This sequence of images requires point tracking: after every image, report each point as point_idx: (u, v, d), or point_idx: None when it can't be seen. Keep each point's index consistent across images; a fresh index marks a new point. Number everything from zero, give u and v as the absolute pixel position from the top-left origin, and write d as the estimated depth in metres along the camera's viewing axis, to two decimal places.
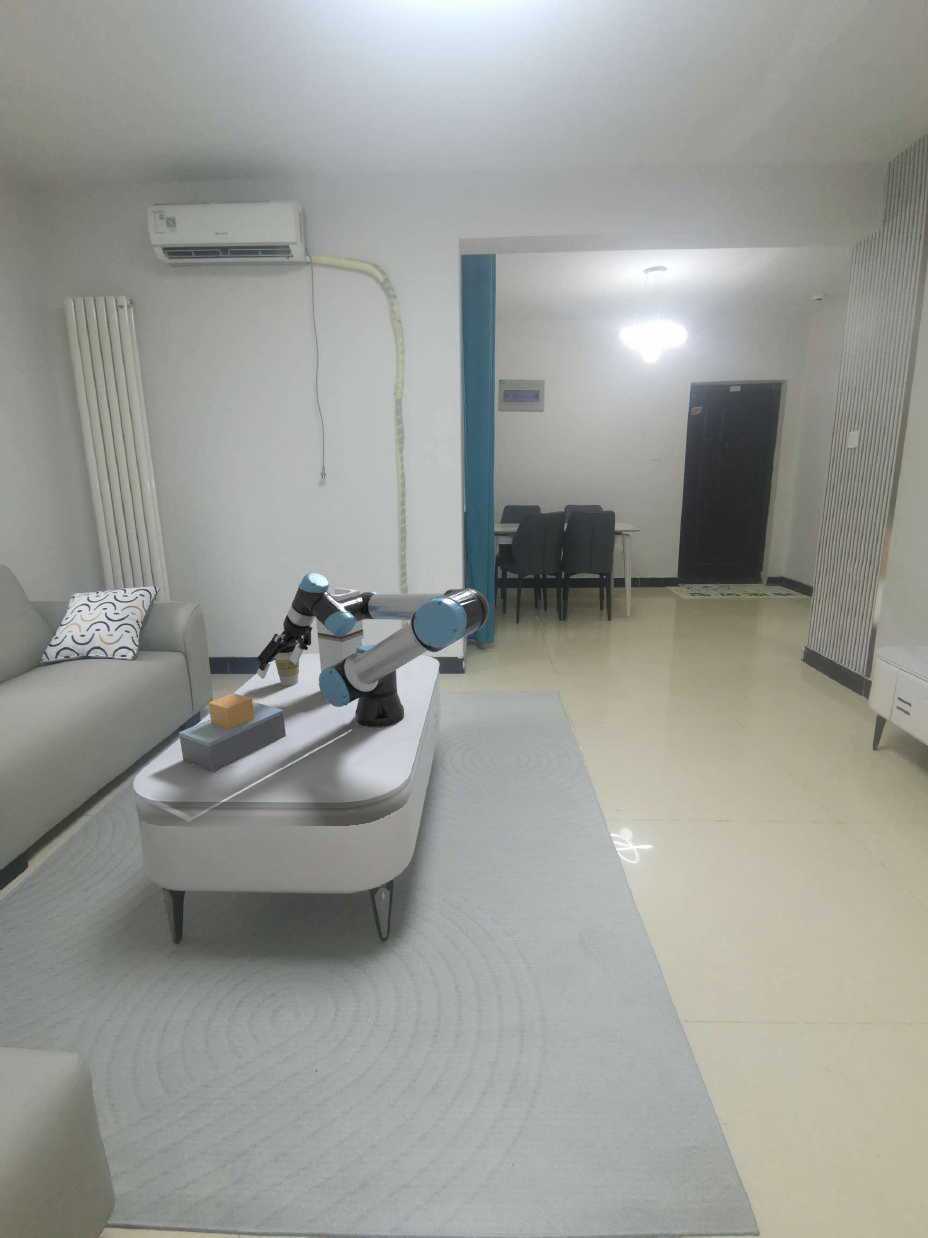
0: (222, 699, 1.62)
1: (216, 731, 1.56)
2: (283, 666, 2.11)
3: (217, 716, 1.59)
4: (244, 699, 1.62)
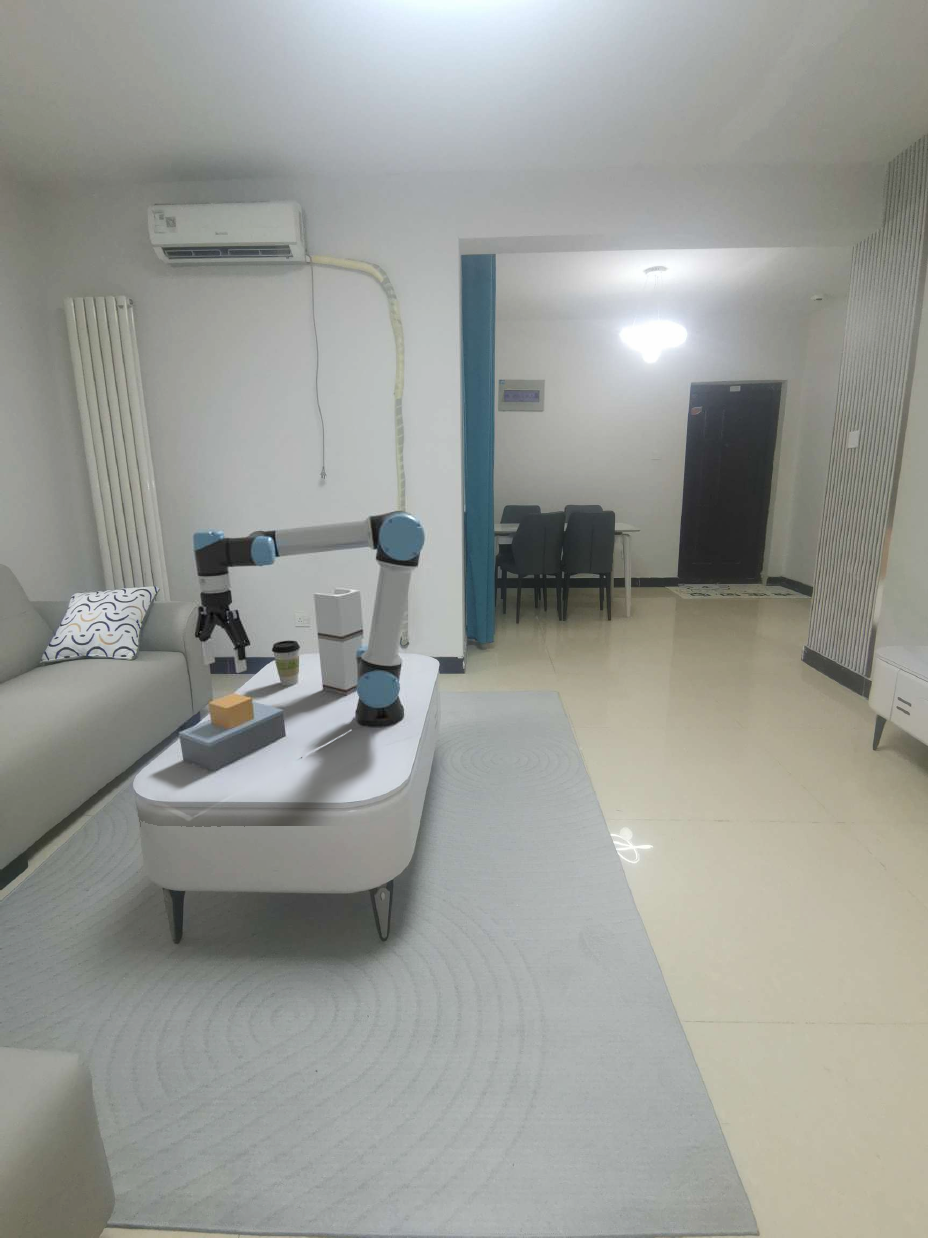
0: (222, 699, 1.62)
1: (216, 731, 1.56)
2: (283, 666, 2.11)
3: (217, 716, 1.59)
4: (244, 699, 1.62)
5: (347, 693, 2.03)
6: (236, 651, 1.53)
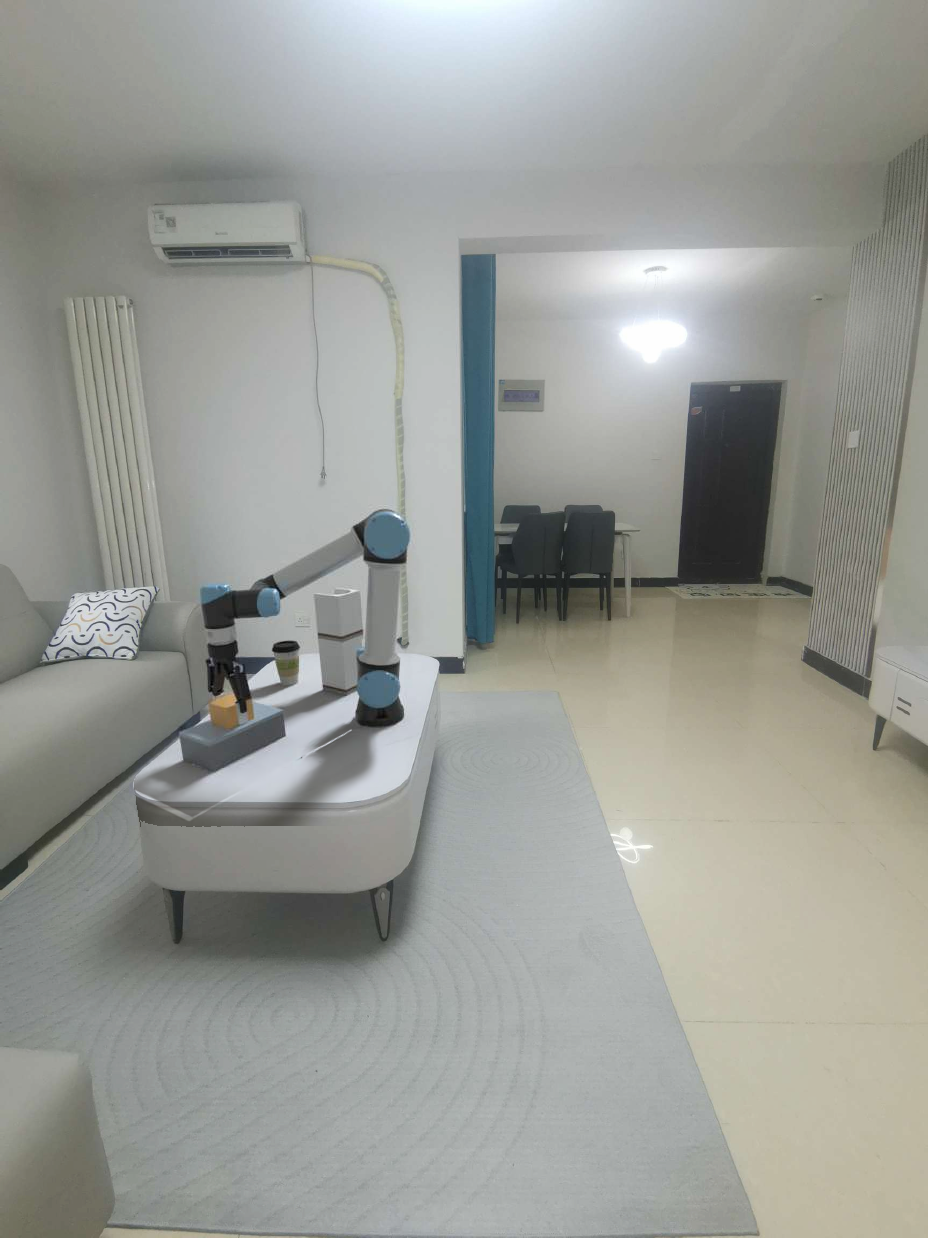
0: (222, 699, 1.62)
1: (216, 731, 1.56)
2: (283, 666, 2.11)
3: (217, 716, 1.59)
4: None
5: (347, 693, 2.03)
6: (238, 704, 1.58)
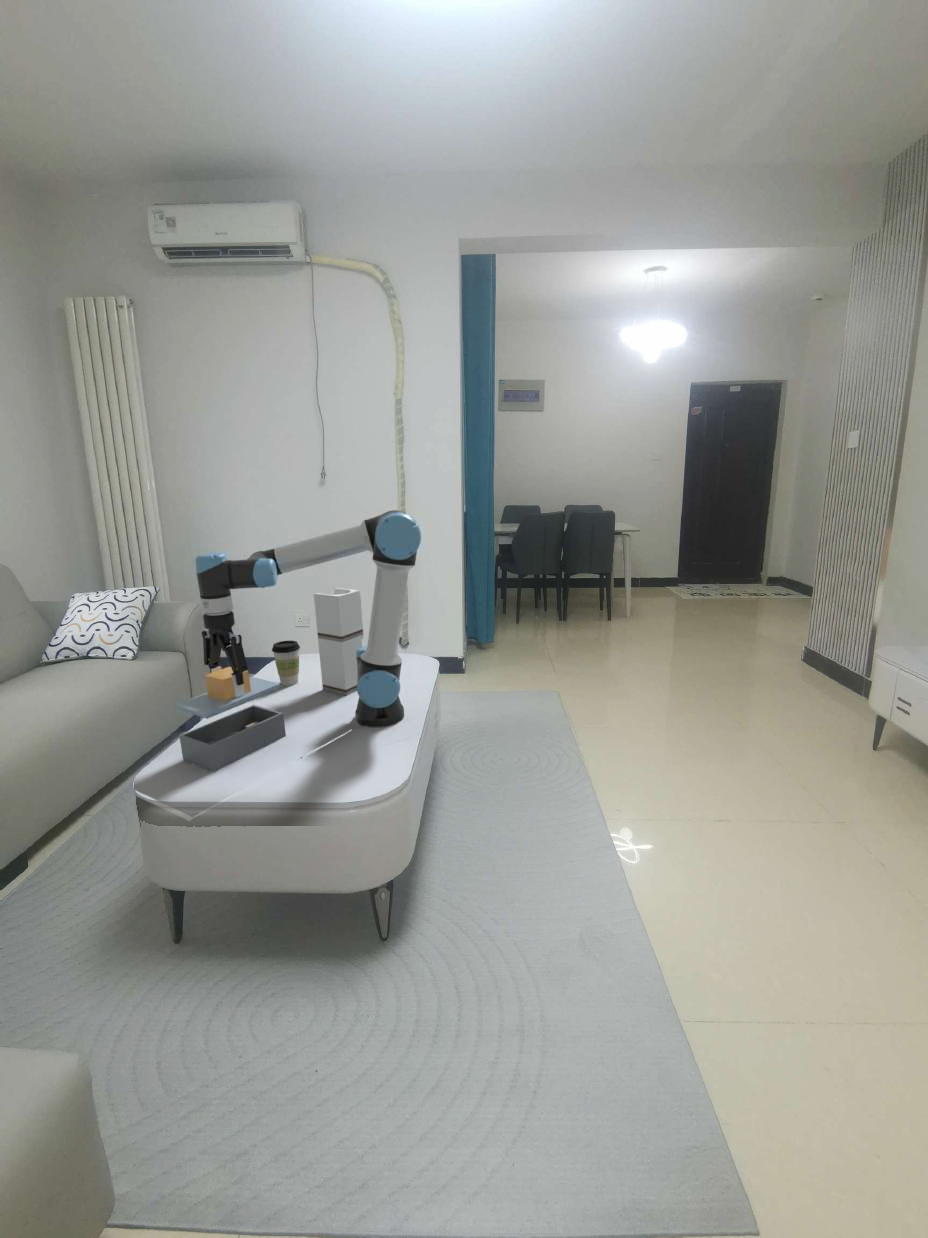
0: (218, 671, 1.60)
1: (212, 703, 1.54)
2: (283, 666, 2.11)
3: (213, 688, 1.57)
4: None
5: (347, 693, 2.03)
6: (234, 676, 1.56)
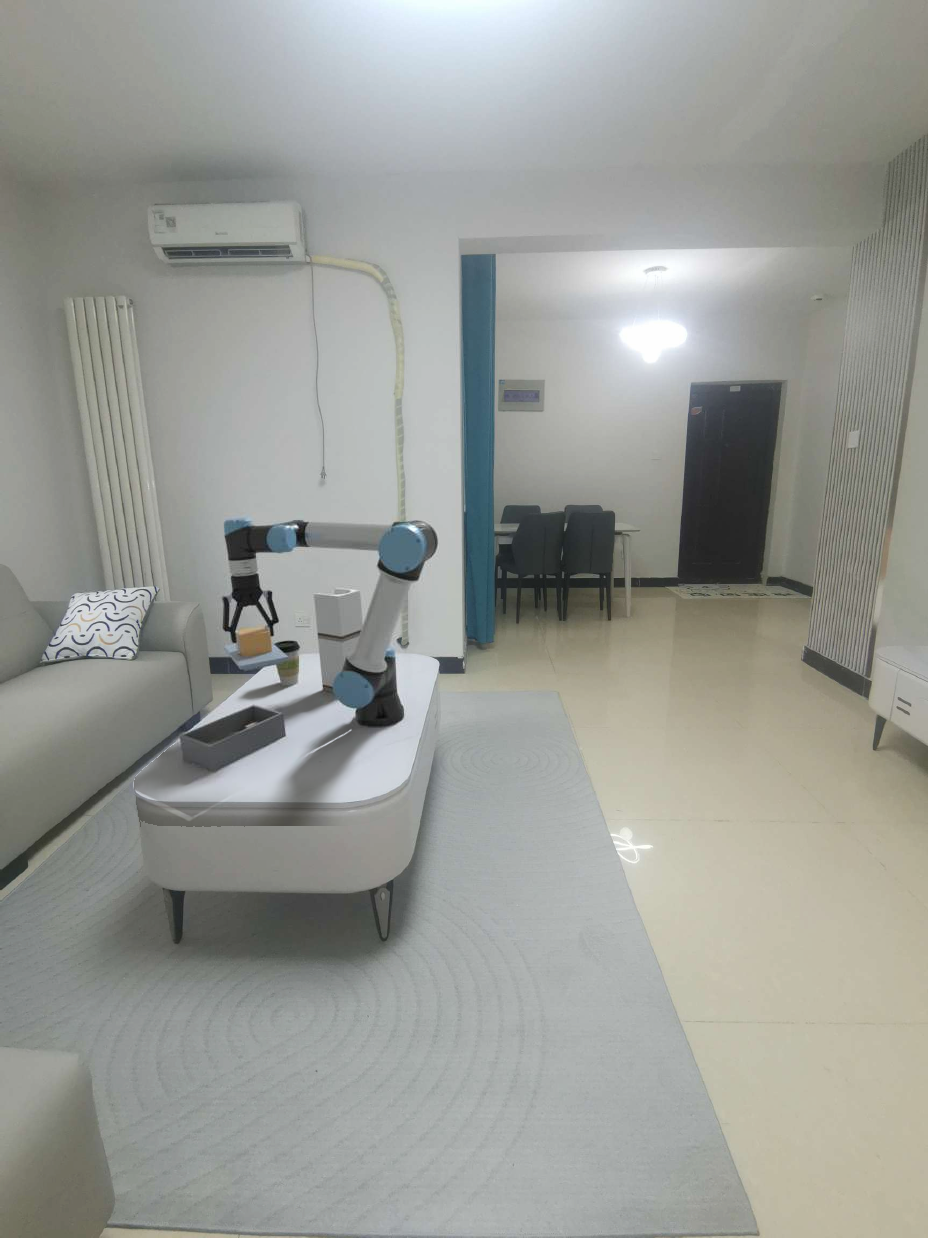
0: (242, 633, 1.69)
1: (267, 655, 1.68)
2: (283, 666, 2.11)
3: (253, 645, 1.68)
4: (260, 628, 1.74)
5: None
6: None
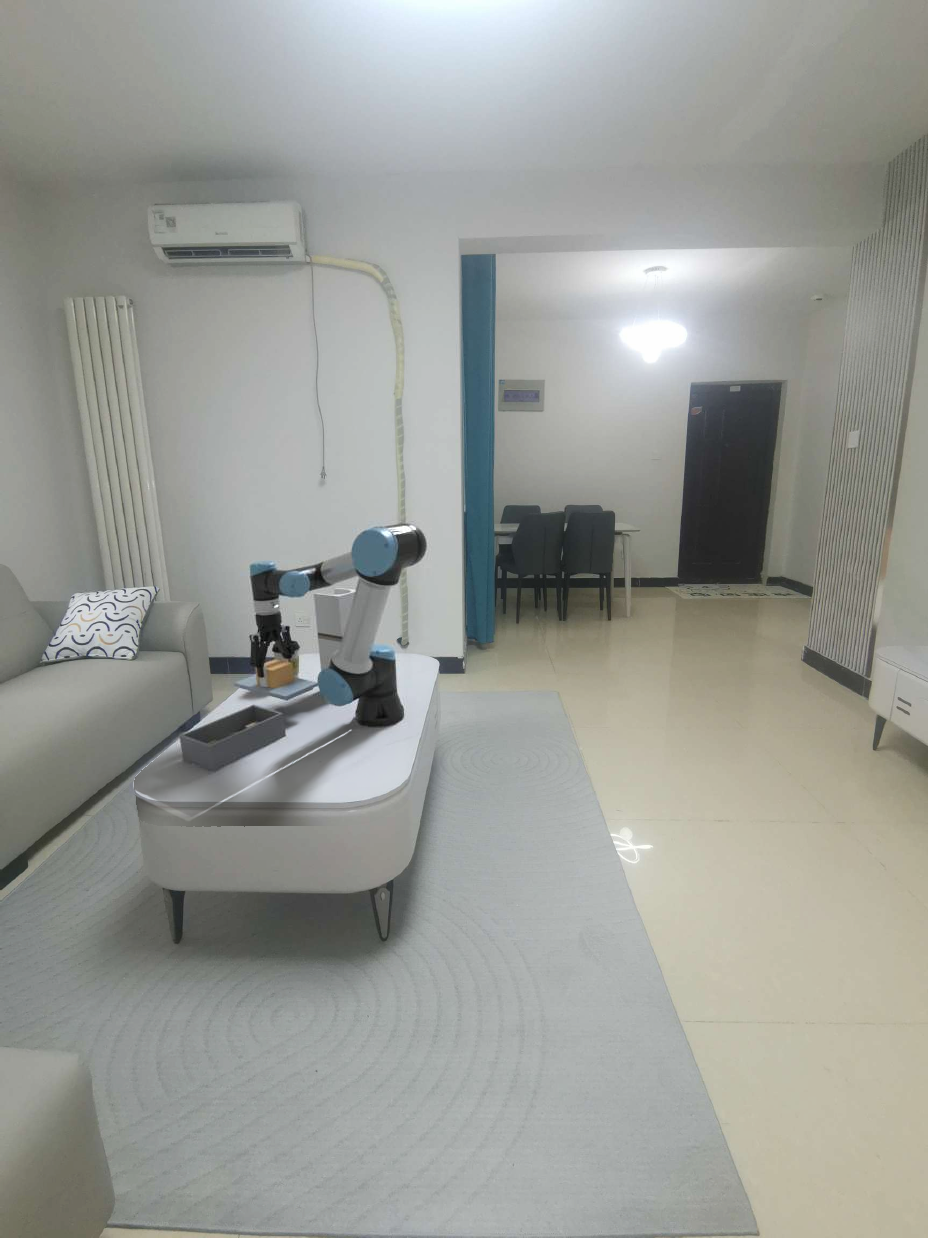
0: (267, 667, 1.82)
1: (295, 684, 1.84)
2: None
3: (281, 677, 1.82)
4: (275, 661, 1.88)
5: None
6: None
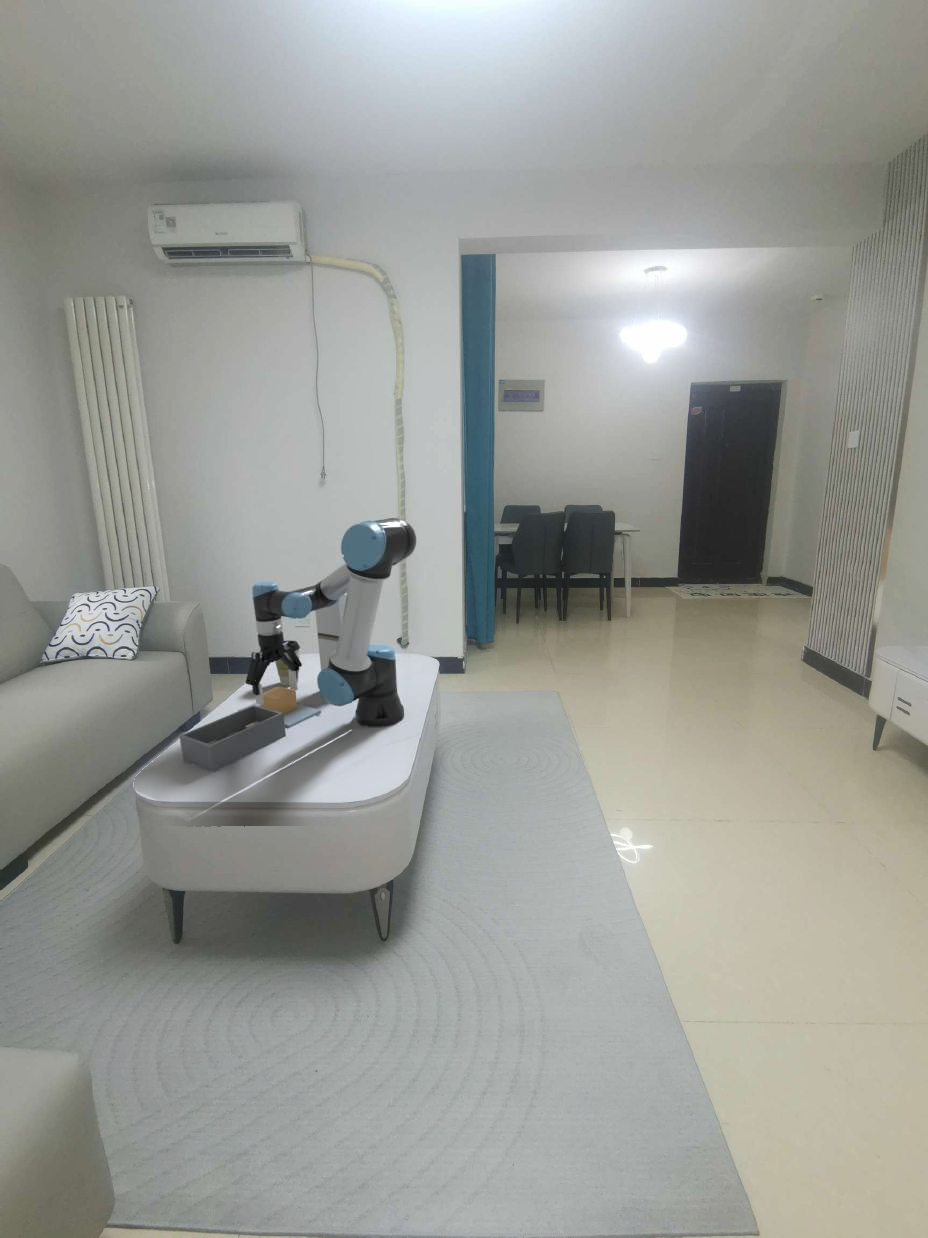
0: (271, 695, 1.84)
1: (298, 711, 1.86)
2: (283, 666, 2.11)
3: (284, 705, 1.85)
4: (279, 688, 1.90)
5: None
6: None
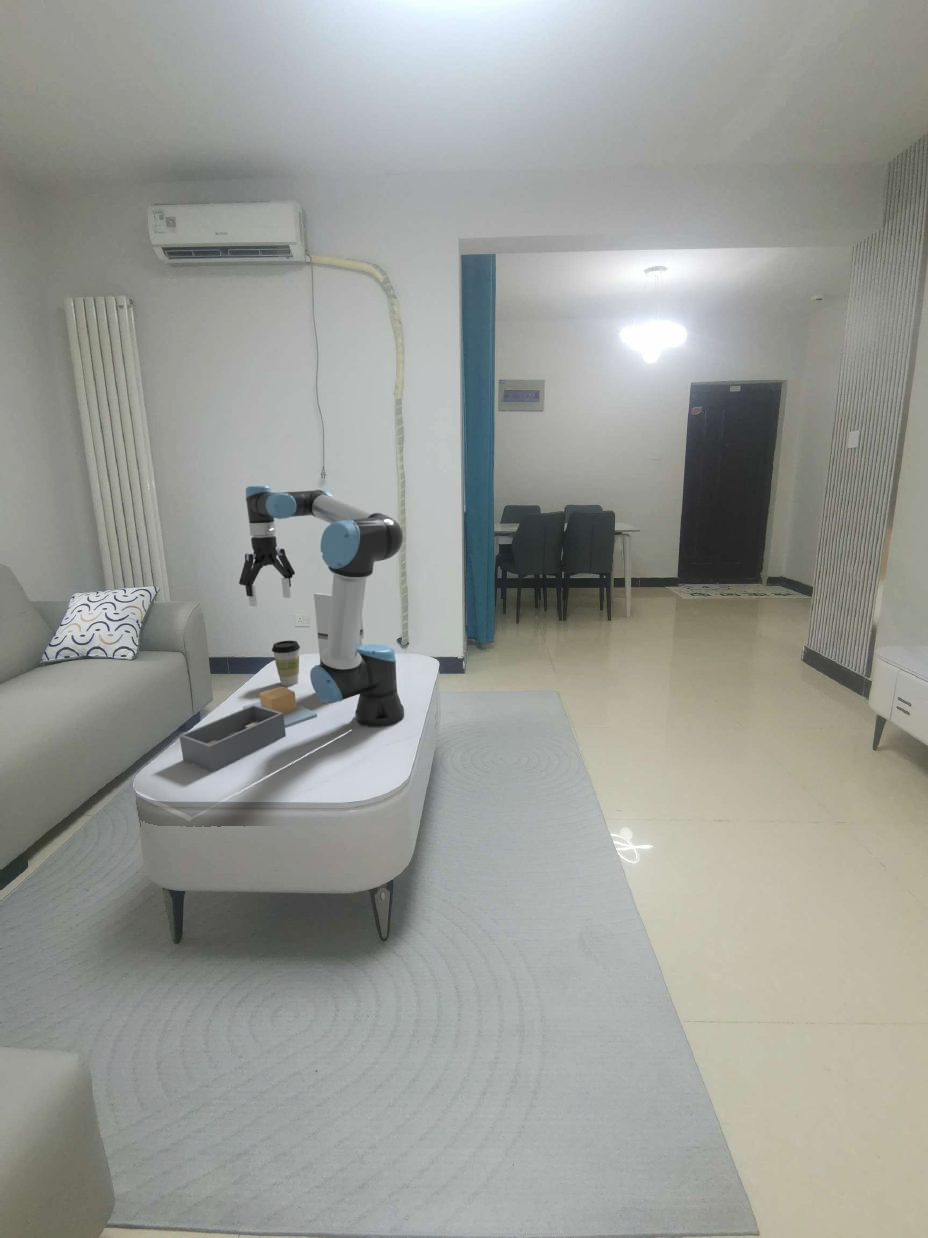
0: (269, 695, 1.84)
1: (295, 713, 1.85)
2: (283, 666, 2.11)
3: (282, 705, 1.84)
4: (281, 688, 1.90)
5: None
6: None
